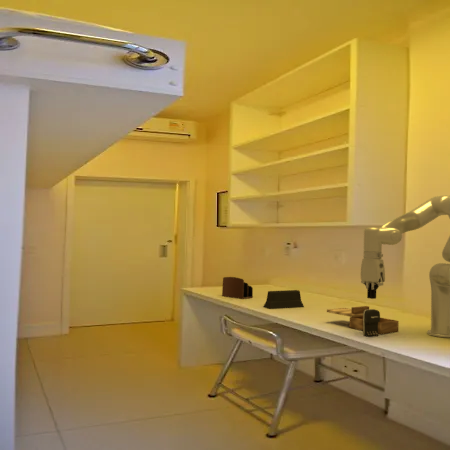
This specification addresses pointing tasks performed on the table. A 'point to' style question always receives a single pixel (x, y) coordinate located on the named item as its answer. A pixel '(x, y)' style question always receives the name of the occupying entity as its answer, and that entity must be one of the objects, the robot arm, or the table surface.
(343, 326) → the table surface
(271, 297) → the barrier
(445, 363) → the table surface
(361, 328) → the brown shallow rectangular box
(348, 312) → the lid
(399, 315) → the table surface
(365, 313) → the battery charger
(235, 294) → the letter holder
